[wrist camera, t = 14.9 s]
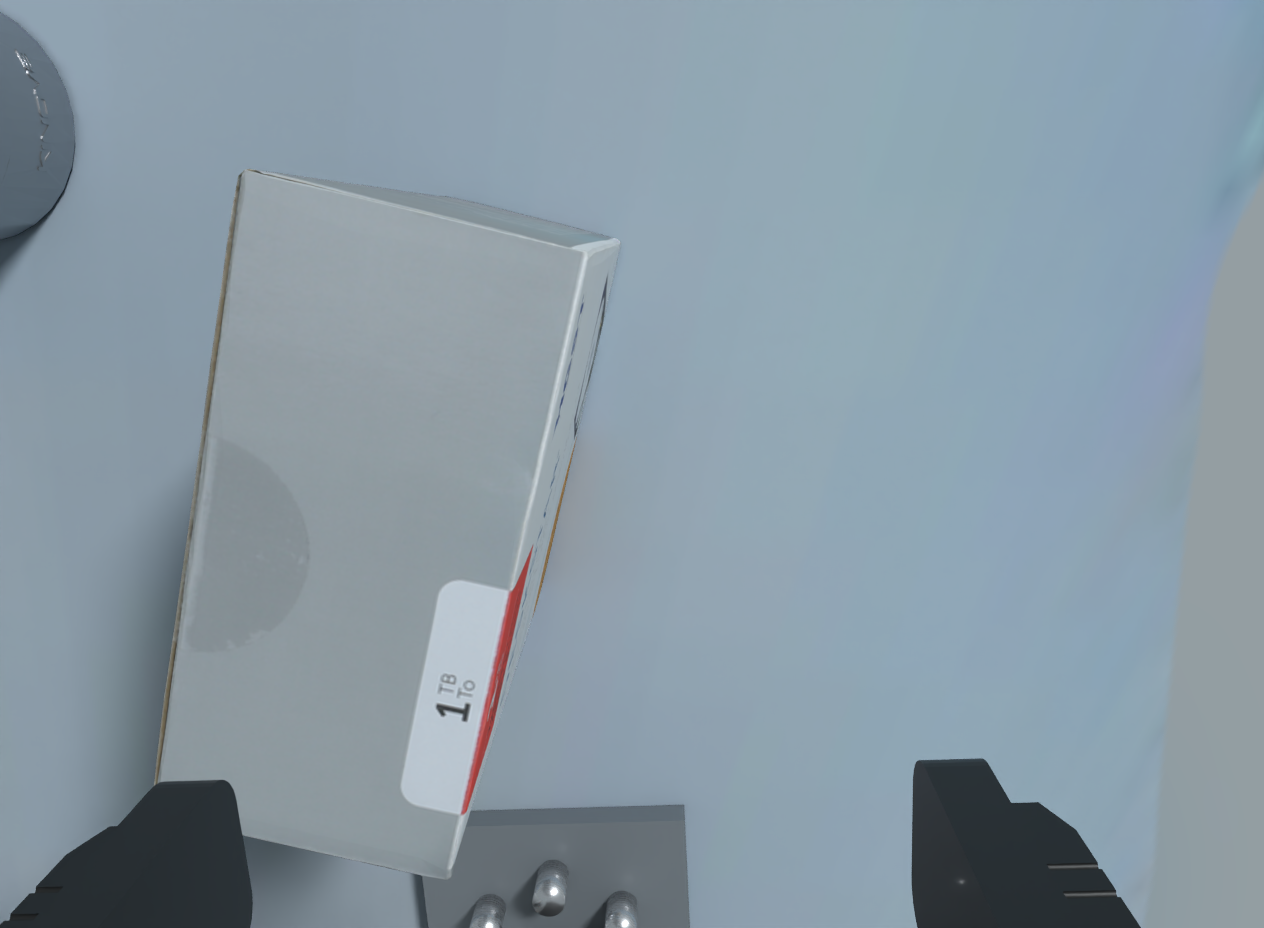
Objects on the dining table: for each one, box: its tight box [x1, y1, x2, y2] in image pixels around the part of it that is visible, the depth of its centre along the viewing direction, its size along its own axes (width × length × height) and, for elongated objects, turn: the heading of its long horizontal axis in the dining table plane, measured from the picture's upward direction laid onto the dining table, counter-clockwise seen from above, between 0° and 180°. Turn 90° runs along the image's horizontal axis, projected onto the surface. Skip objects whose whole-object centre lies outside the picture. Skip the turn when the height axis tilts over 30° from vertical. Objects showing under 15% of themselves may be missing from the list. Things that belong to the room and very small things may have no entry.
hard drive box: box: [154, 169, 621, 880], centre depth 32 cm, size 16×8×20 cm, turn 167°
